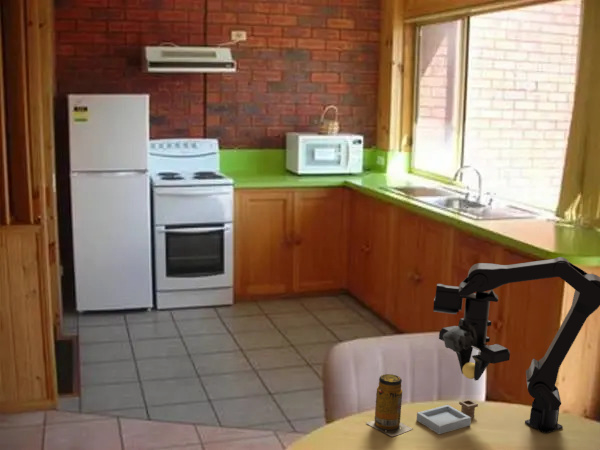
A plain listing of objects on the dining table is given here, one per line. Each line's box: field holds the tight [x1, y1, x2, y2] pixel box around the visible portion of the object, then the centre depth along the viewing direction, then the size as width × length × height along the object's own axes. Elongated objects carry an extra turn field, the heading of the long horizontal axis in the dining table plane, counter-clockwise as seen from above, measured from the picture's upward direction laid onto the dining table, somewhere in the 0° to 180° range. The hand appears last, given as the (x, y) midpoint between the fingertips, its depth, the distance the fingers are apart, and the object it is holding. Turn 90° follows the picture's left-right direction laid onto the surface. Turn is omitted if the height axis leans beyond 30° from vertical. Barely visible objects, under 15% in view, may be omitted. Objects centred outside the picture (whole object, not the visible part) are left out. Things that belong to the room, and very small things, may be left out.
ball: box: [461, 361, 475, 380], centre depth 182 cm, size 4×4×4 cm
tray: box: [416, 404, 472, 435], centre depth 179 cm, size 10×8×2 cm
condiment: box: [366, 373, 413, 437], centre depth 175 cm, size 7×8×12 cm
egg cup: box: [458, 398, 479, 419], centre depth 184 cm, size 3×3×3 cm
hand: (470, 376), depth 182 cm, fingers closed on ball, 4 cm apart
